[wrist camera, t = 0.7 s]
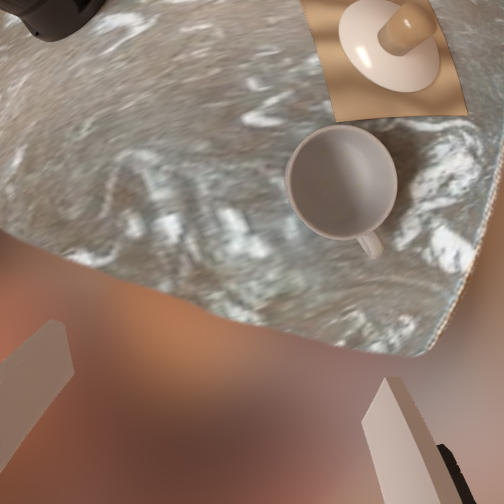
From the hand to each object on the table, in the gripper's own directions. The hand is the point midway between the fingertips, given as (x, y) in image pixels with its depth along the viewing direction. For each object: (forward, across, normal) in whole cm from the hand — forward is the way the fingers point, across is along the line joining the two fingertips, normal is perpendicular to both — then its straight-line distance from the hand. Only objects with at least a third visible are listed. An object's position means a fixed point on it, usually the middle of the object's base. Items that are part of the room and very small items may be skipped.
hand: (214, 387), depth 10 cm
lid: (+25, +14, +28) cm, 40 cm away
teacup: (+26, +9, +7) cm, 28 cm away
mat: (+26, +14, +28) cm, 40 cm away
